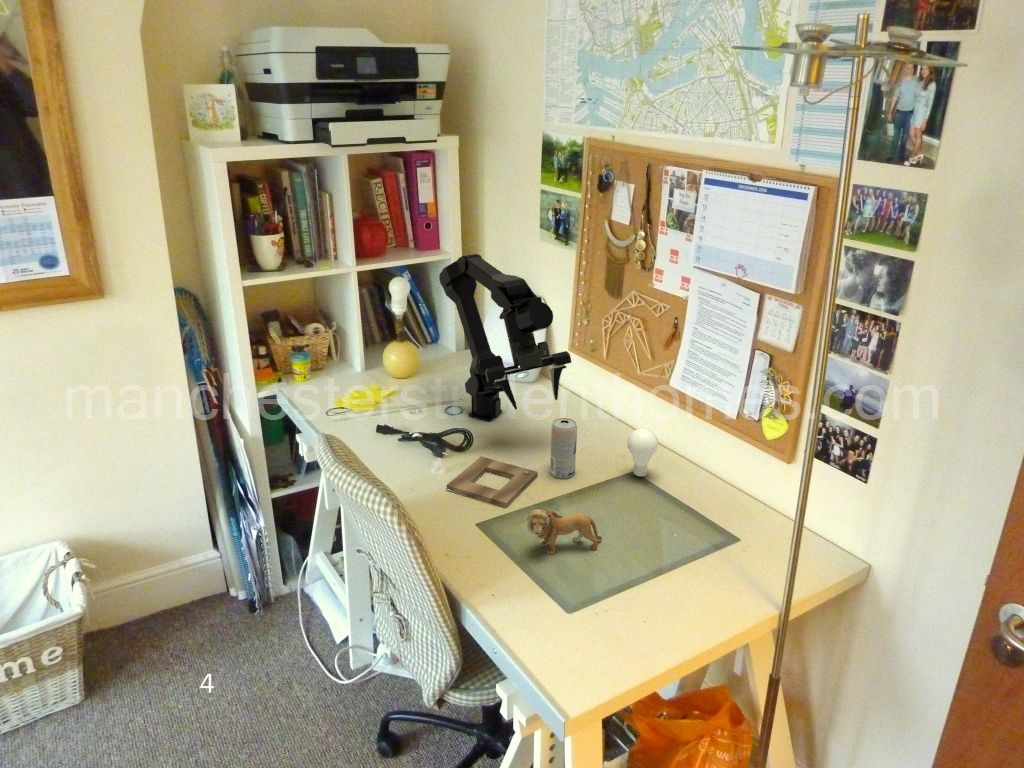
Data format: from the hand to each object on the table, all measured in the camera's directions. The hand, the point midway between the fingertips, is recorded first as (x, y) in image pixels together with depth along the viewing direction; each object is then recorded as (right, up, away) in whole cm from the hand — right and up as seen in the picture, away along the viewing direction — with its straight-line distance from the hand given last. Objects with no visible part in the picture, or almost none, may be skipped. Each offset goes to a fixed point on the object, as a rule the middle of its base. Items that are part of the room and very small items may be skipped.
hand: (536, 404), depth 167 cm
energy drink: (+5, -15, -4) cm, 16 cm away
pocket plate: (-9, -16, -8) cm, 21 cm away
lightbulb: (+22, -15, -5) cm, 27 cm away
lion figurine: (+4, -26, -29) cm, 39 cm away
